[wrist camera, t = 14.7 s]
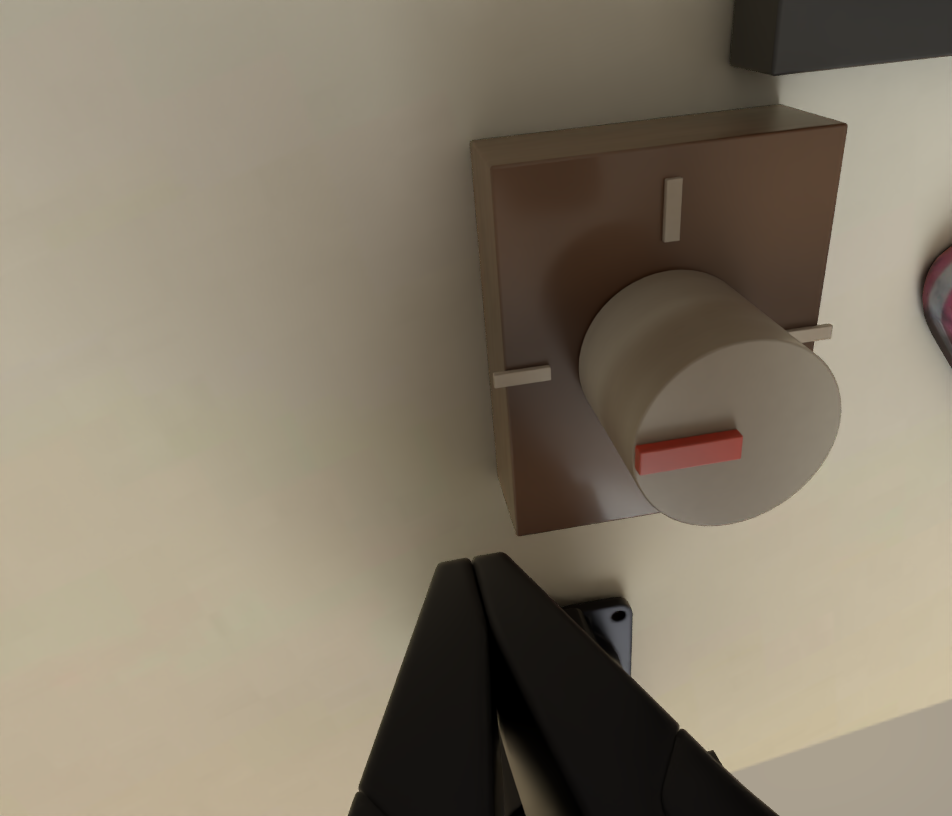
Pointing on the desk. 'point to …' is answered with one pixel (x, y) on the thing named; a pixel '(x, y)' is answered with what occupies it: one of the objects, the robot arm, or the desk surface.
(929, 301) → the eraser
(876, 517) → the desk surface
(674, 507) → the dial
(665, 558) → the desk surface
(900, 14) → the orange button panel
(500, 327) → the dial panel
